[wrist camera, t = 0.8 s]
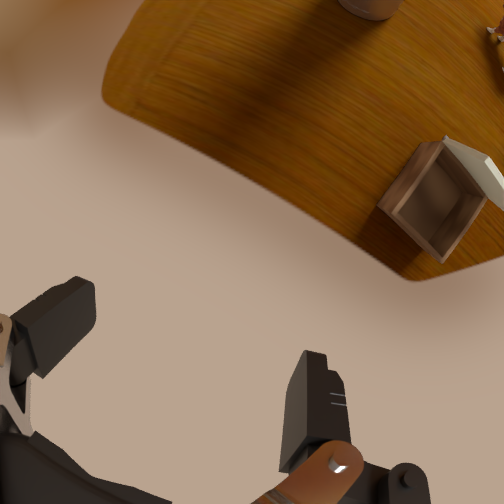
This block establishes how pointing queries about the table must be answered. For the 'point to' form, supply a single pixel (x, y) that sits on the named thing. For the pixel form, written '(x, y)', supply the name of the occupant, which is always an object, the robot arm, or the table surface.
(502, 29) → the bull figurine
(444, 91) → the table surface
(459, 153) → the lid
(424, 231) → the box
